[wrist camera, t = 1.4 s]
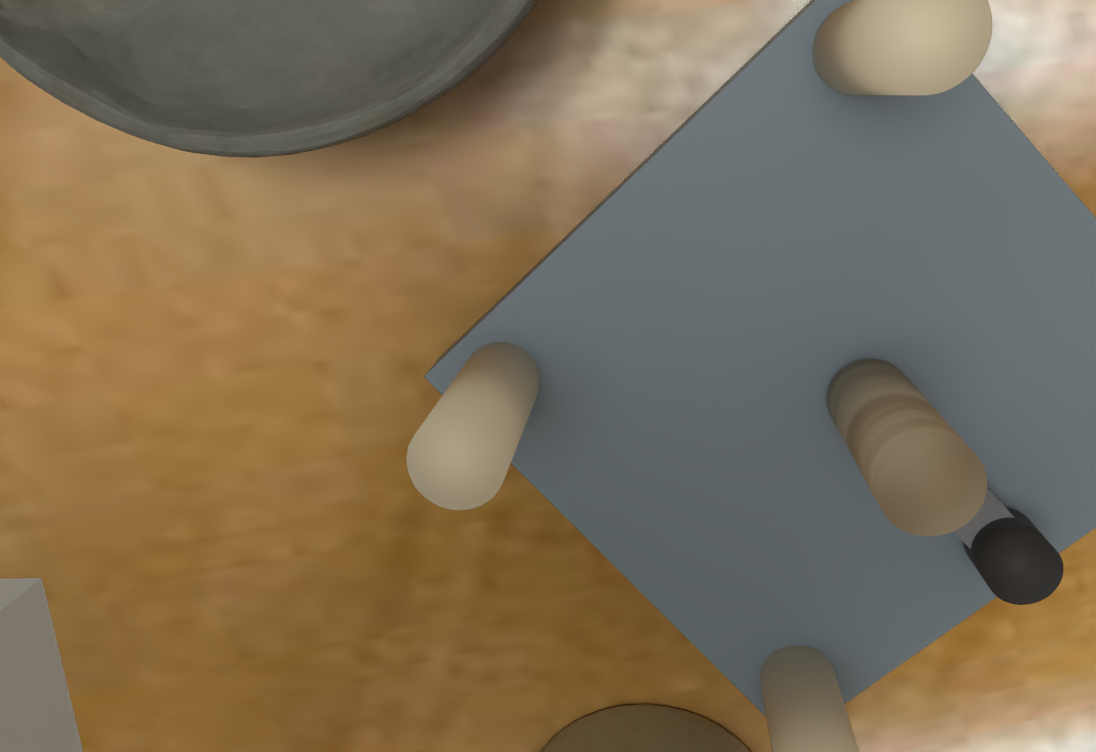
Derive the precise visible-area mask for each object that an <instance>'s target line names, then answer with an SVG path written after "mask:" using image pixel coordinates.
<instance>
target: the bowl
mask: <svg viewBox="0 0 1096 752" xmlns="http://www.w3.org/2000/svg"><path fill="white" fill-rule="evenodd" d="M536 1H537V0H0V57H1V58H2V59H4V60H5V61H6V62H7V63H8V64H9V65H10V66H11V67H12V68H14V69H15V70H16V71H17V72H19V73H20V74H21V75H22V76H24V77H25V78H26V79H27V80H29V81H30V82H32V83H33V84H35V85H36V86H38V87H39V88H41V89H42V90H44V91H45V92H47V93H49V94H50V95H52V96H53V97H55V98H57V99H58V100H60V101H61V102H63V103H65V104H67V105H69V106H71V107H72V108H74V109H76V110H78V111H80V112H82V113H84V114H86V115H88V116H90V117H91V118H93V119H95V120H97V121H99V122H102V123H104V124H106V125H109V126H111V127H113V128H116V129H118V130H121V131H123V132H125V133H128V134H130V135H133V136H136V137H139V138H141V139H144V140H147V141H150V142H154V143H157V144H161V145H164V146H168V147H171V148H175V149H178V150H182V151H187V152H192V153H200V154H209V155H217V156H227V157H267V156H279V155H290V154H296V153H302V152H307V151H312V150H316V149H320V148H324V147H328V146H332V145H336V144H340V143H343V142H346V141H350V140H353V139H356V138H359V137H362V136H365V135H367V134H370V133H372V132H374V131H377V130H379V129H381V128H384V127H386V126H388V125H390V124H392V123H394V122H396V121H398V120H400V119H402V118H404V117H406V116H408V115H410V114H412V113H413V112H415V111H417V110H418V109H420V108H422V107H423V106H425V105H427V104H429V103H430V102H432V101H434V100H435V99H437V98H439V97H441V96H442V95H444V94H446V93H447V92H449V91H450V90H452V89H453V88H455V87H456V86H458V85H459V84H460V83H462V82H463V81H465V80H466V79H467V78H469V77H470V76H471V75H472V74H474V73H475V72H476V71H477V70H478V69H479V68H480V67H481V66H482V65H484V64H485V63H486V62H487V61H488V60H489V59H490V58H491V57H492V56H493V55H494V54H495V53H496V51H497V50H498V49H499V48H500V47H501V46H502V45H503V44H504V43H505V42H506V41H507V39H508V38H509V37H510V35H511V34H512V33H513V32H514V30H515V29H516V28H517V27H518V25H519V24H520V23H521V21H522V20H523V19H524V18H525V16H526V15H527V14H528V13H529V11H530V10H531V9H532V8H533V6H534V5H535V3H536Z"/></svg>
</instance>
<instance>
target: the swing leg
mask: <svg viewBox="0 0 1096 752" xmlns="http://www.w3.org/2000/svg"><path fill="white" fill-rule="evenodd" d="M827 407H828V411H829V414H830V416H831V418H832V420H833V422H834V423H835V425H836V427H837V429H838V431H839V433H840V434H841V436H842V438H843V440H844V442H845V444H846V446H847V447H848V449H849V451H850V453H851V455H852V457H853V458H854V460H855V462H856V464H857V466H858V468H859V469H860V471H861V473H862V475H863V477H864V479H865V481H866V482H867V484H868V486H869V488H870V490H871V492H872V493H873V495H874V497H875V499H876V501H877V503H878V504H879V506H880V508H881V510H882V512H883V513H884V515H885V516H886V517H887V519H888V520H889V521H890V522H891V523H892V524H893V525H895V526H896V527H898V528H899V529H901V530H903V531H905V532H908V533H910V534H914V535H918V536H939V535H944V534H947V533H950V532H953V531H954V532H955V533H956V534H957V535H958V537H959V538H960V539H961V540H962V541H963V542H964V548H965V551H966V554H967V555H968V557H969V558H970V560H971V561H972V563H973V564H974V566H975V567H976V569H977V570H978V572H979V573H980V575H981V576H982V578H983V579H984V581H985V582H986V584H987V585H988V586H989V588H990V589H991V591H992V592H993V593H994V594H995V595H996V596H997V597H998V598H1000V599H1001V600H1003V601H1005V602H1008V603H1012V604H1018V605H1025V604H1032V603H1035V602H1038V601H1041V600H1043V599H1045V598H1046V597H1048V596H1049V595H1050V594H1052V593H1053V592H1054V591H1055V589H1056V588H1057V587H1058V585H1059V583H1060V581H1061V579H1062V576H1063V562H1062V559H1061V557H1060V555H1059V553H1058V552H1057V551H1056V549H1055V548H1054V547H1053V546H1052V545H1051V544H1050V543H1049V541H1048V540H1047V539H1046V538H1045V537H1044V536H1043V535H1042V534H1041V532H1040V531H1039V530H1038V529H1037V528H1036V527H1035V526H1034V524H1033V523H1032V522H1031V521H1030V520H1029V519H1028V518H1027V517H1026V516H1025V515H1024V514H1022V513H1021V512H1019V511H1016V510H1014V509H1010V508H1006V507H1005V506H1004V505H1003V504H1002V503H1001V501H1000V500H999V499H998V498H997V497H996V496H995V495H994V494H993V493H992V492H991V491H990V489H989V488H988V487H987V476H986V472H985V469H984V466H983V464H982V463H981V461H980V459H979V458H978V457H977V455H976V454H975V453H974V452H973V451H972V450H971V449H970V448H969V446H968V445H967V444H966V443H965V442H964V441H963V440H962V439H961V437H960V436H959V435H958V434H957V433H956V432H955V431H954V430H953V428H952V427H951V426H950V425H949V424H948V423H947V422H946V420H945V419H944V418H943V417H942V416H941V415H940V414H939V413H938V411H937V410H936V409H935V408H934V407H933V406H932V405H931V404H930V402H929V401H928V400H927V399H926V398H925V397H924V396H923V395H922V393H921V392H920V391H919V390H918V389H917V388H916V387H915V386H914V384H913V383H912V382H911V381H910V380H909V379H908V378H907V377H906V375H905V374H904V373H903V372H902V371H901V370H900V369H899V368H897V367H896V366H895V365H893V364H891V363H889V362H886V361H883V360H878V359H866V360H860V361H857V362H854V363H852V364H850V365H848V366H846V367H845V368H844V369H842V370H841V371H840V372H839V373H838V374H837V375H836V376H835V378H834V379H833V381H832V382H831V385H830V387H829V390H828V394H827Z"/></svg>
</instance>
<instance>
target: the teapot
mask: <svg viewBox="0 0 1096 752" xmlns="http://www.w3.org/2000/svg"><path fill="white" fill-rule="evenodd" d="M542 752H750V751H749V750H748V749H747V748H746V747H745V746H744V744H743V743H742V742H741V741H740V740H738V739H737V738H736V737H734V736H733V735H732V734H730V733H729V732H728V731H726V730H725V729H724V728H722V727H721V726H720V725H718V724H716V723H714V722H712V721H710V720H708V719H706V718H704V717H701V716H699V715H696V714H694V713H691V712H688V711H685V710H681V709H678V708H673V707H667V706H661V705H651V704H640V705H624V706H617V707H613V708H609V709H605V710H601V711H598V712H596V713H593V714H591V715H588V716H586V717H583V718H581V719H579V720H577V721H575V722H574V723H572V724H570V725H569V726H568V727H566V728H565V729H563V730H562V731H561V732H559V733H558V734H557V735H556V736H555V737H554V738H553V739H552V740H551V741H550V742H549V743H548V744H547V746H546V747H545V748H544V750H543V751H542Z"/></svg>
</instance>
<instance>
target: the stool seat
mask: <svg viewBox="0 0 1096 752" xmlns="http://www.w3.org/2000/svg"><path fill="white" fill-rule="evenodd" d="M991 34H992V15H991V10H990V6H989V3H988V0H811V1H810V2H809V3H808V4H807V5H806V6H805V7H804V8H803V9H802V10H801V11H800V12H799V13H798V14H797V15H796V16H795V17H793V18H792V19H791V20H790V21H789V22H788V23H787V24H786V25H785V26H784V27H783V28H782V29H781V30H780V31H779V32H778V33H777V34H776V35H775V36H774V37H773V38H772V39H771V40H770V41H769V42H767V43H766V44H765V45H764V46H763V47H762V48H761V49H760V50H759V51H758V52H757V53H756V54H755V55H754V56H753V57H752V58H751V59H750V60H749V61H748V62H747V63H746V64H745V65H744V66H743V67H741V68H740V69H739V70H738V71H737V72H736V73H735V74H734V75H733V76H732V77H731V78H730V79H729V80H728V81H727V82H726V83H725V84H724V85H723V86H722V87H721V88H720V89H719V90H718V91H717V92H715V93H714V94H713V95H712V96H711V97H710V98H709V99H708V100H707V101H706V102H705V103H704V104H703V105H702V106H701V107H700V108H699V109H698V110H697V111H696V112H695V113H694V114H693V115H692V116H691V117H689V118H688V119H687V120H686V121H685V122H684V123H683V124H682V125H681V126H680V127H679V128H678V129H677V130H676V131H675V132H674V133H673V134H672V135H671V136H670V137H669V138H668V139H667V140H666V141H665V142H663V143H662V144H661V145H660V146H659V147H658V148H657V149H656V150H655V151H654V152H653V153H652V154H651V155H650V156H649V157H648V158H647V159H646V160H645V161H644V162H643V163H642V164H641V165H640V166H639V167H637V168H636V169H635V170H634V171H633V172H632V173H631V174H630V175H629V176H628V177H627V178H626V179H625V180H624V181H623V182H622V183H621V184H620V185H619V186H618V187H617V188H616V189H615V190H614V191H613V192H611V193H610V194H609V195H608V196H607V197H606V198H605V199H604V200H603V201H602V202H601V203H600V204H599V205H598V206H597V207H596V208H595V209H594V210H593V211H592V212H591V213H590V214H589V215H588V216H587V217H585V218H584V219H583V220H582V221H581V222H580V223H579V224H578V225H577V226H576V227H575V228H574V229H573V230H572V231H571V232H570V233H569V234H568V235H567V236H566V237H565V238H564V239H563V240H562V241H561V242H559V243H558V244H557V245H556V246H555V247H554V248H553V249H552V250H551V251H550V252H549V253H548V254H547V255H546V256H545V257H544V258H543V259H542V260H541V261H540V262H539V263H538V264H537V265H536V266H535V267H533V268H532V269H531V270H530V271H529V272H528V273H527V274H526V275H525V276H524V277H523V278H522V279H521V280H520V281H519V282H518V283H517V284H516V285H515V286H514V287H513V288H512V289H511V290H510V291H509V292H507V293H506V294H505V295H504V296H503V297H502V298H501V299H500V300H499V301H498V302H497V303H496V304H495V305H494V306H493V307H492V308H491V309H490V310H489V311H488V312H487V313H486V314H485V315H484V316H483V317H481V318H480V319H479V320H478V321H477V322H476V323H475V324H474V325H473V326H472V327H471V328H470V329H469V330H468V331H467V332H466V333H465V334H464V335H463V336H462V337H461V338H460V339H459V340H458V341H457V342H455V343H454V344H453V345H452V346H451V347H450V348H449V349H448V350H447V351H446V352H445V353H444V354H443V355H442V356H441V357H440V358H439V359H438V360H437V361H436V363H435V364H434V365H433V366H432V367H431V369H430V370H429V371H428V372H427V373H426V375H425V376H424V377H425V378H426V379H427V380H428V381H429V382H430V383H431V384H432V385H433V386H434V387H435V388H436V389H437V390H438V391H439V392H440V393H441V394H442V397H441V398H440V400H439V401H438V402H437V404H436V405H435V407H434V408H433V409H432V411H431V412H430V414H429V415H428V416H427V418H426V419H425V421H424V422H423V423H422V425H421V426H420V428H419V429H418V431H417V432H416V433H415V435H414V436H413V438H412V440H411V442H410V444H409V447H408V451H407V469H408V473H409V476H410V478H411V480H412V482H413V484H414V486H415V487H416V489H417V490H418V491H419V492H420V493H421V494H422V495H423V496H424V497H425V498H426V499H427V500H429V501H430V502H432V503H434V504H436V505H438V506H440V507H443V508H446V509H451V510H469V509H473V508H476V507H479V506H481V505H483V504H485V503H487V502H488V501H489V500H491V499H492V498H493V497H494V496H495V495H496V494H497V492H498V491H499V489H500V488H501V486H502V484H503V481H504V479H505V476H506V474H507V471H508V469H509V466H510V464H512V465H513V466H514V467H515V468H516V469H517V470H518V471H519V472H520V473H521V474H522V475H523V476H524V477H525V478H526V479H527V480H528V481H529V482H530V483H531V484H532V485H533V486H534V487H535V488H537V489H538V490H539V491H540V492H541V493H542V494H543V495H544V496H545V497H546V498H547V499H548V500H549V501H550V502H551V503H552V504H553V505H554V506H555V507H556V508H557V509H558V510H559V511H560V512H561V513H562V514H563V515H564V516H565V517H566V518H567V519H568V520H569V521H570V522H571V523H572V524H573V525H574V526H575V527H576V528H577V529H578V530H579V531H580V532H581V533H582V534H583V535H584V536H585V537H586V538H587V539H588V540H589V541H590V542H591V543H592V544H593V545H594V546H595V547H596V548H597V549H598V550H599V551H600V552H601V553H602V554H603V555H604V556H605V557H606V558H607V559H608V560H609V561H610V562H611V563H612V564H613V565H614V566H615V567H616V568H617V569H618V570H619V571H620V572H621V573H622V574H623V575H624V576H625V577H626V578H627V579H628V580H629V581H630V582H631V583H632V584H633V585H634V586H635V587H636V588H637V589H638V590H639V591H640V592H641V593H642V594H643V595H644V596H645V597H646V598H647V599H648V600H649V601H650V602H651V603H652V604H653V605H654V606H655V607H656V608H657V609H658V610H659V611H660V612H661V613H662V614H663V615H664V616H665V617H666V618H667V619H668V620H669V621H670V622H671V623H672V624H673V625H674V626H675V627H676V628H677V629H678V630H679V631H680V632H681V633H682V634H683V635H684V636H685V637H686V638H687V639H688V640H689V641H690V642H691V643H692V644H693V645H694V646H695V647H696V648H697V649H698V650H699V651H700V652H701V653H703V654H704V655H705V656H706V657H707V658H708V659H709V660H710V661H711V662H712V663H713V664H714V665H715V666H716V667H717V668H718V669H719V670H720V671H721V672H722V673H723V674H724V675H725V676H726V677H727V678H728V679H729V680H730V681H731V682H732V683H733V684H734V685H735V686H736V687H737V688H738V689H739V690H740V691H741V692H742V693H743V694H744V695H745V696H746V697H747V698H748V699H749V700H750V701H751V702H752V703H753V704H754V705H755V706H756V707H757V708H758V709H759V710H760V711H761V712H762V713H763V714H764V715H765V716H766V719H767V725H768V730H769V736H770V742H771V747H772V752H859V749H858V746H857V743H856V740H855V736H854V733H853V730H852V727H851V723H850V720H849V717H848V714H847V710H846V707H845V703H846V702H848V701H849V700H851V699H852V698H854V697H855V696H856V695H858V694H859V693H861V692H862V691H864V690H865V689H866V688H868V687H869V686H871V685H872V684H873V683H875V682H876V681H878V680H879V679H881V678H882V677H883V676H885V675H886V674H888V673H889V672H891V671H892V670H893V669H895V668H896V667H898V666H899V665H901V664H902V663H903V662H905V661H906V660H908V659H909V658H911V657H912V656H913V655H915V654H916V653H918V652H919V651H920V650H922V649H923V648H925V647H926V646H928V645H929V644H930V643H932V642H933V641H935V640H936V639H938V638H939V637H940V636H942V635H943V634H945V633H946V632H948V631H949V630H950V629H952V628H953V627H955V626H956V625H958V624H959V623H960V622H962V621H963V620H965V619H966V618H967V617H969V616H970V615H972V614H973V613H975V612H976V611H977V610H979V609H980V608H982V607H983V606H985V605H986V604H987V603H989V602H990V601H992V600H993V599H995V598H996V597H997V596H996V595H995V594H994V593H993V592H992V591H991V589H990V588H989V586H988V585H987V584H986V582H985V581H984V579H983V578H982V576H981V575H980V573H979V572H978V570H977V569H976V567H975V566H974V564H973V563H972V561H971V560H970V558H969V557H968V555H967V554H966V551H965V548H964V542H963V541H962V540H961V539H960V538H959V537H958V535H957V534H956V533H955V532H954V531H953V532H950V533H947V534H944V535H939V536H918V535H914V534H910V533H908V532H905V531H903V530H901V529H899V528H898V527H896V526H895V525H893V524H892V523H891V522H890V521H889V520H888V519H887V517H886V516H885V515H884V513H883V512H882V510H881V508H880V506H879V504H878V503H877V501H876V499H875V497H874V495H873V493H872V492H871V490H870V488H869V486H868V484H867V482H866V481H865V479H864V477H863V475H862V473H861V471H860V469H859V468H858V466H857V464H856V462H855V460H854V458H853V457H852V455H851V453H850V451H849V449H848V447H847V446H846V444H845V442H844V440H843V438H842V436H841V434H840V433H839V431H838V429H837V427H836V425H835V423H834V422H833V420H832V418H831V416H830V414H829V411H828V407H827V394H828V390H829V387H830V385H831V382H832V381H833V379H834V378H835V376H836V375H837V374H838V373H839V372H840V371H841V370H842V369H844V368H845V367H846V366H848V365H850V364H852V363H854V362H857V361H860V360H866V359H878V360H883V361H886V362H889V363H891V364H893V365H895V366H896V367H897V368H899V369H900V370H901V371H902V372H903V373H904V374H905V375H906V377H907V378H908V379H909V380H910V381H911V382H912V383H913V384H914V386H915V387H916V388H917V389H918V390H919V391H920V392H921V393H922V395H923V396H924V397H925V398H926V399H927V400H928V401H929V402H930V404H931V405H932V406H933V407H934V408H935V409H936V410H937V411H938V413H939V414H940V415H941V416H942V417H943V418H944V419H945V420H946V422H947V423H948V424H949V425H950V426H951V427H952V428H953V430H954V431H955V432H956V433H957V434H958V435H959V436H960V437H961V439H962V440H963V441H964V442H965V443H966V444H967V445H968V446H969V448H970V449H971V450H972V451H973V452H974V453H975V454H976V455H977V457H978V458H979V459H980V461H981V463H982V464H983V466H984V469H985V472H986V476H987V487H988V488H989V489H990V491H991V492H992V493H993V494H994V495H995V496H996V497H997V498H998V499H999V500H1000V501H1001V503H1002V504H1003V505H1004V506H1005V507H1006V508H1010V509H1014V510H1016V511H1019V512H1021V513H1022V514H1024V515H1025V516H1026V517H1027V518H1028V519H1029V520H1030V521H1031V522H1032V523H1033V524H1034V526H1035V527H1036V528H1037V529H1038V530H1039V531H1040V532H1041V534H1042V535H1043V536H1044V537H1045V538H1046V539H1047V540H1048V541H1049V543H1050V544H1051V545H1052V546H1053V547H1054V548H1055V549H1056V551H1057V552H1058V553H1060V552H1061V551H1063V550H1064V549H1066V548H1067V547H1069V546H1070V545H1071V544H1073V543H1074V542H1076V541H1077V540H1079V539H1080V538H1081V537H1083V536H1084V535H1086V534H1087V533H1089V532H1090V531H1091V530H1093V529H1094V528H1096V218H1095V217H1094V216H1093V214H1092V213H1091V212H1090V211H1089V210H1088V209H1087V207H1086V206H1085V205H1084V204H1083V203H1082V202H1081V200H1080V199H1079V198H1078V197H1077V196H1076V195H1075V193H1074V192H1073V191H1072V190H1071V189H1070V188H1069V186H1068V185H1067V184H1066V183H1065V182H1064V180H1063V179H1062V178H1061V177H1060V176H1059V175H1058V173H1057V172H1056V171H1055V170H1054V169H1053V168H1052V166H1051V165H1050V164H1049V163H1048V162H1047V161H1046V159H1045V158H1044V157H1043V156H1042V155H1041V154H1040V152H1039V151H1038V150H1037V149H1036V148H1035V146H1034V145H1033V144H1032V143H1031V142H1030V141H1029V139H1028V138H1027V137H1026V136H1025V135H1024V134H1023V132H1022V131H1021V130H1020V129H1019V128H1018V127H1017V125H1016V124H1015V123H1014V122H1013V121H1012V120H1011V118H1010V117H1009V116H1008V115H1007V114H1006V112H1005V111H1004V110H1003V109H1002V108H1001V107H1000V105H999V104H998V103H997V102H996V101H995V100H994V98H993V97H992V96H991V95H990V94H989V93H988V91H987V90H986V89H985V88H984V87H983V86H982V84H981V83H980V82H979V81H978V80H977V79H976V77H975V76H974V75H973V74H972V73H973V72H974V71H975V69H976V68H977V67H978V66H979V64H980V62H981V61H982V59H983V58H984V56H985V53H986V51H987V49H988V46H989V43H990V39H991Z"/></svg>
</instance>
